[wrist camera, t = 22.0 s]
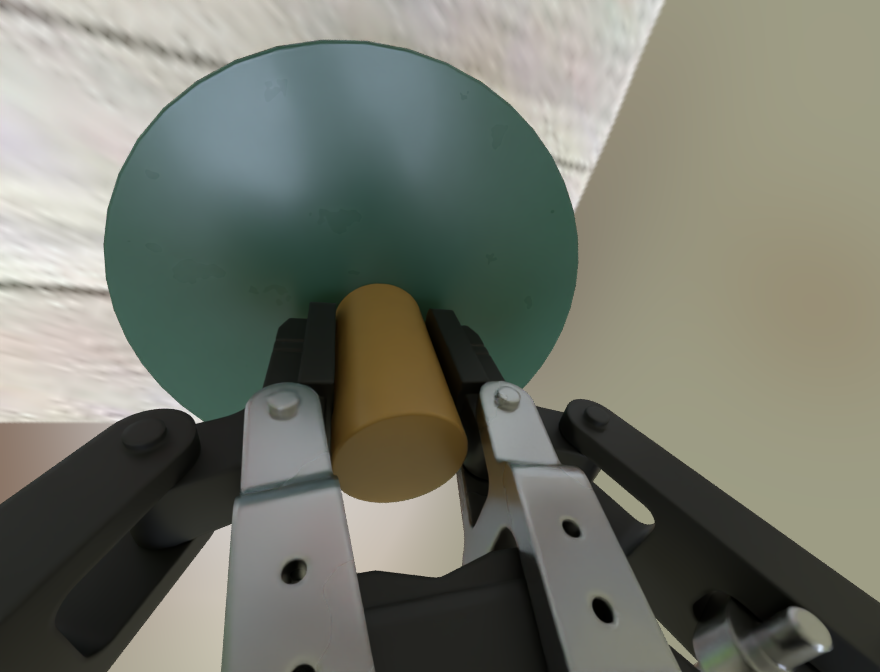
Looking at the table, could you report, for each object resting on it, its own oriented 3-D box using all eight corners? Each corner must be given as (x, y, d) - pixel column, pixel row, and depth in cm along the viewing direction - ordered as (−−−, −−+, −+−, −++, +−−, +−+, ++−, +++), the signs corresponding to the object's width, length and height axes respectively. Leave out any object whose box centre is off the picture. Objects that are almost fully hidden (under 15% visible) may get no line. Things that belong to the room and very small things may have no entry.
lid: (32, -46, 7) (-1271, -652, 1) (628, 115, 11) (913, 133, 5) (180, 449, 14) (81, 669, 9) (501, 432, 18) (568, 573, 13)
